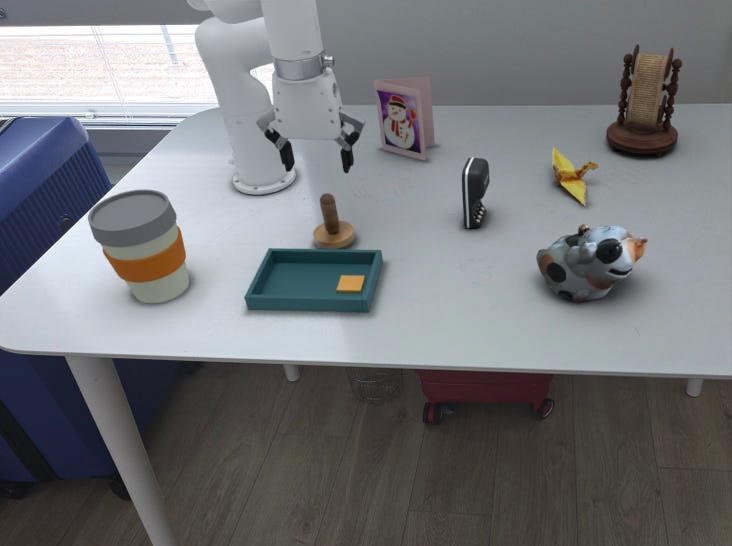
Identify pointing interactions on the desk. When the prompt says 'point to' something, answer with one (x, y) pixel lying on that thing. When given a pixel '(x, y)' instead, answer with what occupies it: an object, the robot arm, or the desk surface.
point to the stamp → (332, 227)
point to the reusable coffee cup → (142, 243)
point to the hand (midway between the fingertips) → (319, 168)
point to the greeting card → (405, 115)
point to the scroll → (646, 105)
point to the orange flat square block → (350, 284)
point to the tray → (313, 280)
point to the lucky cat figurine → (590, 261)
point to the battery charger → (474, 191)
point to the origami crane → (571, 175)
